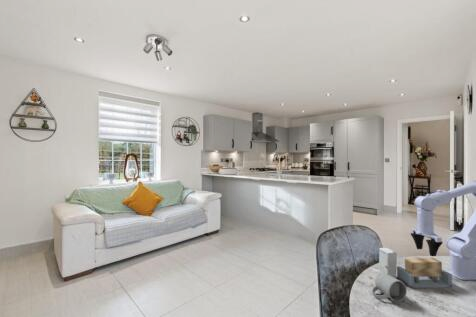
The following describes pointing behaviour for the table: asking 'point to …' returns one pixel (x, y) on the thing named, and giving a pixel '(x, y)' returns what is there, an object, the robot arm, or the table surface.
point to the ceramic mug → (389, 288)
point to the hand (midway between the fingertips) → (426, 252)
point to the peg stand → (424, 279)
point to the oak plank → (423, 267)
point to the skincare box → (387, 262)
